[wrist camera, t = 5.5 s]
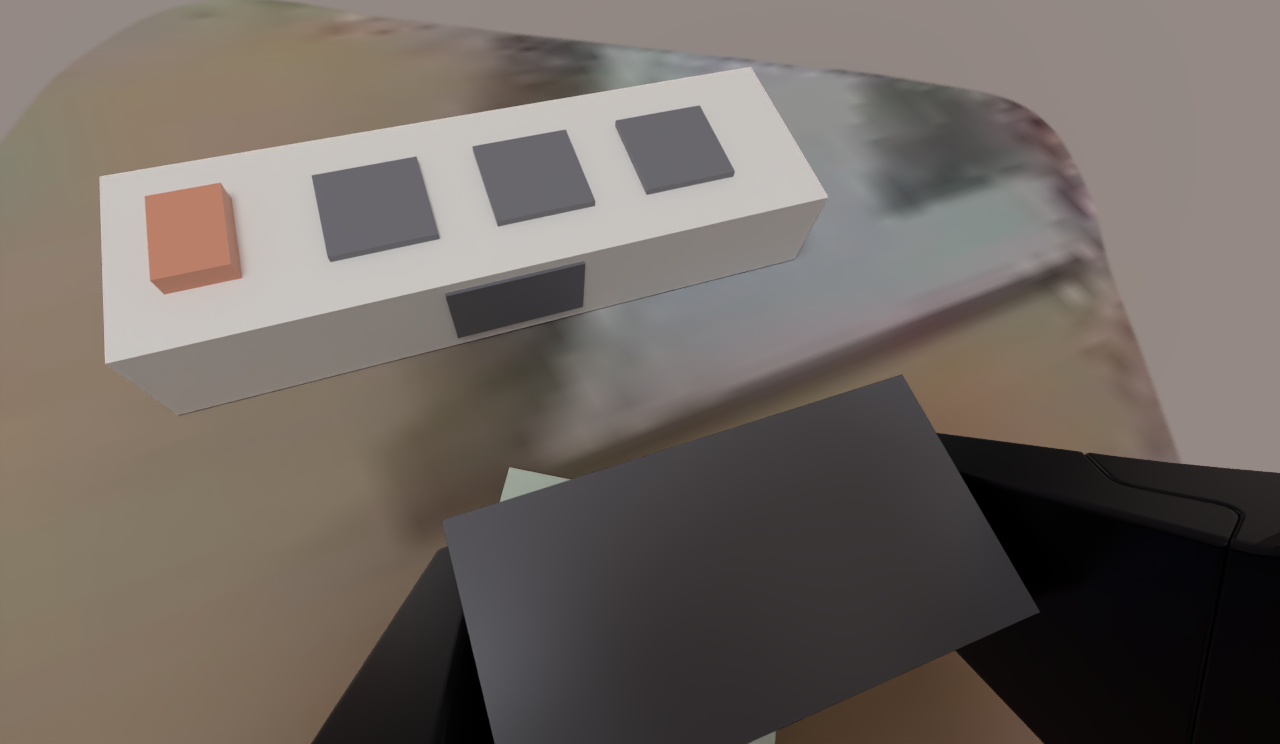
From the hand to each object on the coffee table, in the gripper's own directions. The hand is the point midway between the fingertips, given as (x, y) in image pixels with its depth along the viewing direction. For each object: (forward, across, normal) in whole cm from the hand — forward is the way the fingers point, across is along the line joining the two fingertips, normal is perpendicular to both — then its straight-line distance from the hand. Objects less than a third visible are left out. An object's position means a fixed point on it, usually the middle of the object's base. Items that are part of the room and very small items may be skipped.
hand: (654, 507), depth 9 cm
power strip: (+17, 0, -1) cm, 17 cm away
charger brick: (+4, 0, +6) cm, 7 cm away
